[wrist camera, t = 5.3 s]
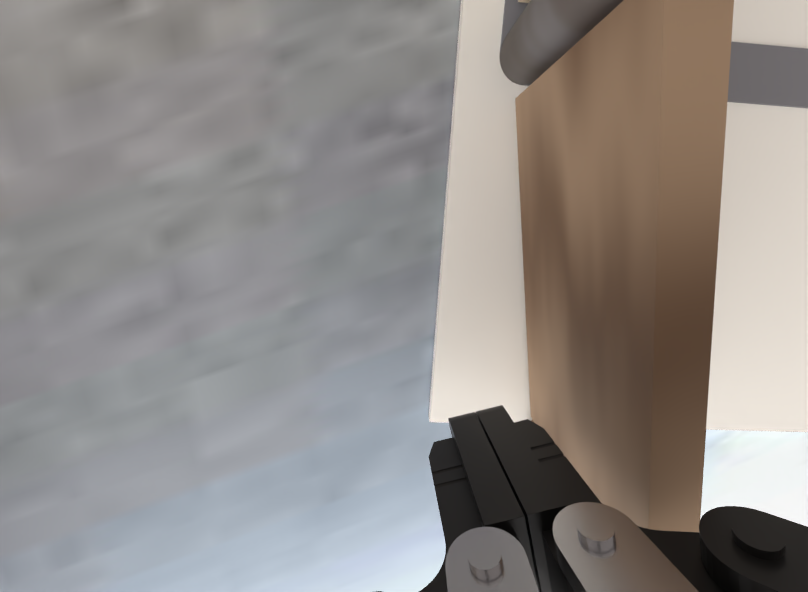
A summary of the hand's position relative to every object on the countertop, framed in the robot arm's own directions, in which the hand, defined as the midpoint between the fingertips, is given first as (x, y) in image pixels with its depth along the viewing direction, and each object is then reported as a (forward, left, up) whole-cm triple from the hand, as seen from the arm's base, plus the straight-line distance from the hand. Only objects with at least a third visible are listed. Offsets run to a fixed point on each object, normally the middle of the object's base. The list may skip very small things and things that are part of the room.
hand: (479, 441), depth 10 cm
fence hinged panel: (-4, +2, -3) cm, 5 cm away
